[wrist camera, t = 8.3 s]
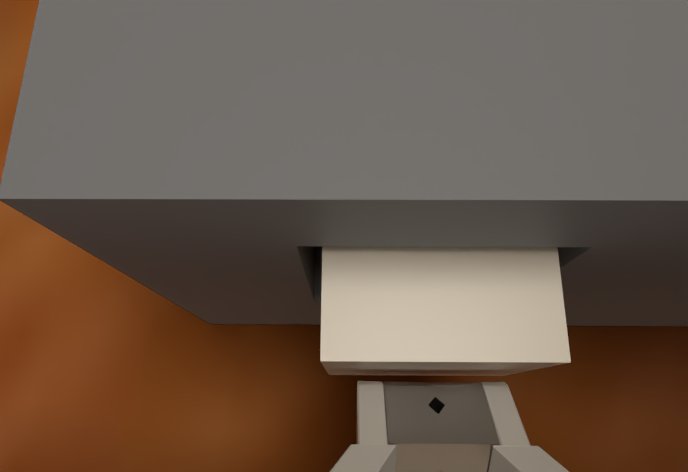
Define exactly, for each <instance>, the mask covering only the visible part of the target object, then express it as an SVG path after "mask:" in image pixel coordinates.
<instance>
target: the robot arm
mask: <svg viewBox="0 0 688 472" xmlns="http://www.w3.org/2000/svg"><path fill="white" fill-rule="evenodd" d="M330 472H569V471H568V470H567V469H565V468H564V467H563V466H562V465H561V464H559V463H558V462H557V461H556V460H555V459H553V458H552V457H551V456H550V455H549V454H547V453H546V452H545V451H544V450H543V449H541V448H540V447H539V446H531V445H530V443H529V440H528V437H527V435H526V432H525V429H524V426H523V424H522V421H521V418H520V416H519V413H518V410H517V408H516V405H515V402H514V400H513V397H512V394H511V392H510V389H509V386H508V385H507V384H506V383H505V382H480V383H478V382H430V383H429V382H397V381H383V383H382V382H379V381H358V383H357V426H356V444H351V445H350V446H349V447H348V448H347V450H346V451H345V452H344V454H343V455H342V456H341V457H340V459H339V460H338V461H337V463H336V464H335V465H334V466H333V468H332V469H331V470H330Z"/></svg>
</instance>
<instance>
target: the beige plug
mask: <svg viewBox="0 0 688 472" xmlns="http://www.w3.org/2000/svg"><path fill="white" fill-rule="evenodd" d="M320 362H321V363H322V365H323V367H324V368H325V370H326V371H327V373H328V375H426V376H505V375H510V374H515V373H520V372H525V371H530V370H536V369H541V368H546V367H551V366H556V365H561V364H566V363H571V359H570V350H569V342H568V333H567V325H566V316H565V308H564V299H563V290H562V282H561V273H560V265H559V256H558V248H557V247H354V246H322V292H321V346H320Z"/></svg>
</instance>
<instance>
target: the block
mask: <svg viewBox="0 0 688 472" xmlns="http://www.w3.org/2000/svg"><path fill="white" fill-rule="evenodd" d="M0 200H1V201H2V202H4V203H6V204H7V205H9V206H11V207H12V208H14V209H16V210H17V211H19V212H21V213H23V214H24V215H26V216H28V217H29V218H31V219H33V220H34V221H36V222H38V223H39V224H41V225H43V226H45V227H46V228H48V229H50V230H51V231H53V232H55V233H56V234H58V235H60V236H61V237H63V238H65V239H66V240H68V241H70V242H72V243H73V244H75V245H77V246H78V247H80V248H82V249H83V250H85V251H87V252H88V253H90V254H92V255H94V256H95V257H97V258H99V259H100V260H102V261H104V262H105V263H107V264H109V265H110V266H112V267H114V268H115V269H117V270H119V271H121V272H122V273H124V274H126V275H127V276H129V277H131V278H132V279H134V280H136V281H137V282H139V283H141V284H143V285H144V286H146V287H148V288H149V289H151V290H153V291H154V292H156V293H158V294H159V295H161V296H163V297H164V298H166V299H168V300H170V301H171V302H173V303H175V304H176V305H178V306H180V307H181V308H183V309H185V310H186V311H188V312H190V313H192V314H193V315H195V316H197V317H198V318H200V319H202V320H203V321H205V322H207V323H208V324H302V325H321V292H322V246H354V247H557V248H558V256H559V265H560V273H561V282H562V290H563V299H564V308H565V316H566V325H567V326H688V0H39V5H38V9H37V14H36V19H35V24H34V28H33V33H32V38H31V43H30V47H29V52H28V57H27V62H26V66H25V71H24V76H23V80H22V85H21V90H20V95H19V99H18V104H17V109H16V114H15V118H14V123H13V128H12V133H11V137H10V142H9V147H8V152H7V156H6V161H5V166H4V171H3V175H2V180H1V185H0Z"/></svg>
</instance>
